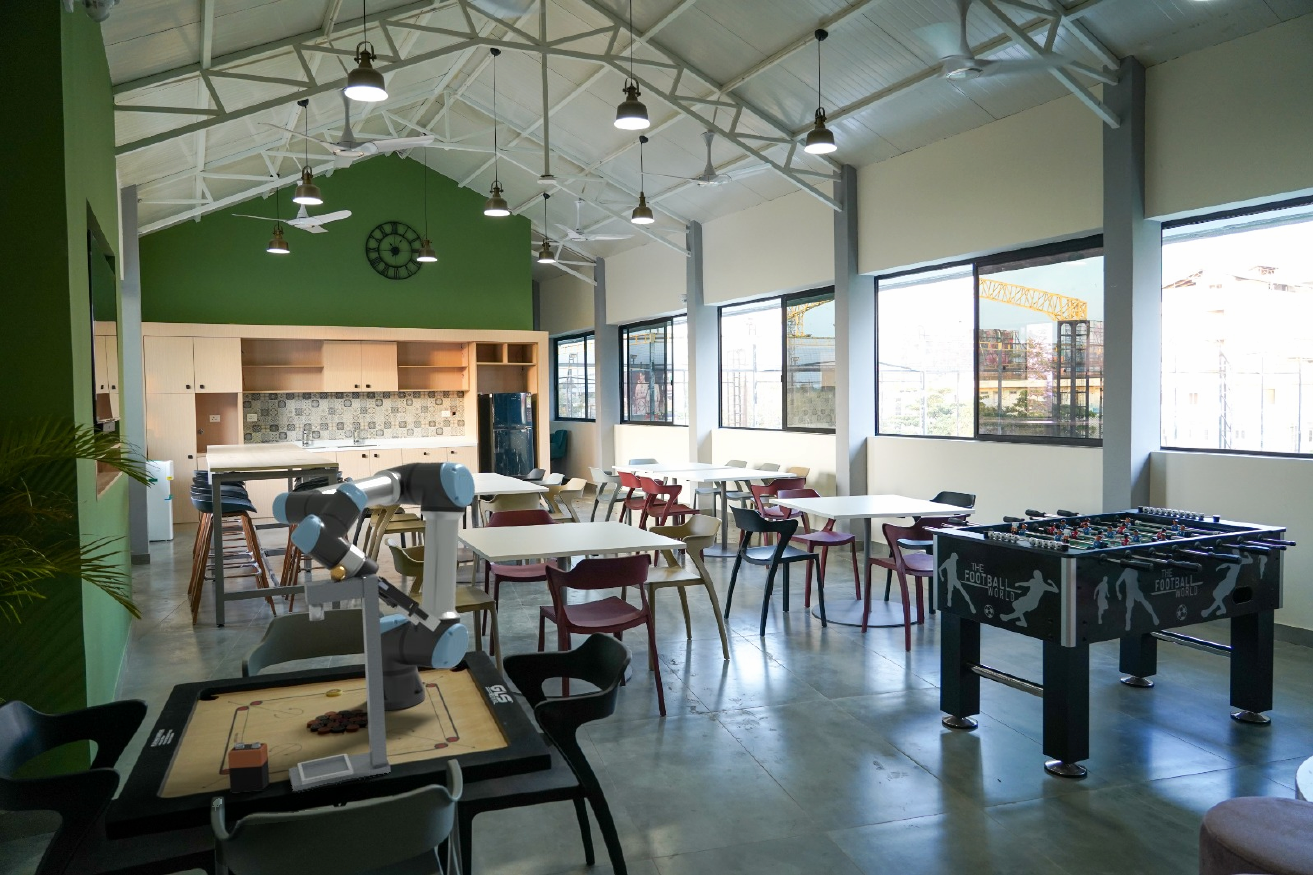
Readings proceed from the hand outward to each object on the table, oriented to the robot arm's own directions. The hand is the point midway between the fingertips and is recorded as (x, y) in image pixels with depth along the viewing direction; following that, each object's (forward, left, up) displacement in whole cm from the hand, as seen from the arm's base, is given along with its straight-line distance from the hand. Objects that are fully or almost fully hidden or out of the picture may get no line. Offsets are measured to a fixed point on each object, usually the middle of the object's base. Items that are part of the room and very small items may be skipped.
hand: (428, 623), depth 213 cm
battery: (+3, -40, -30) cm, 50 cm away
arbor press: (+5, -22, -29) cm, 37 cm away
